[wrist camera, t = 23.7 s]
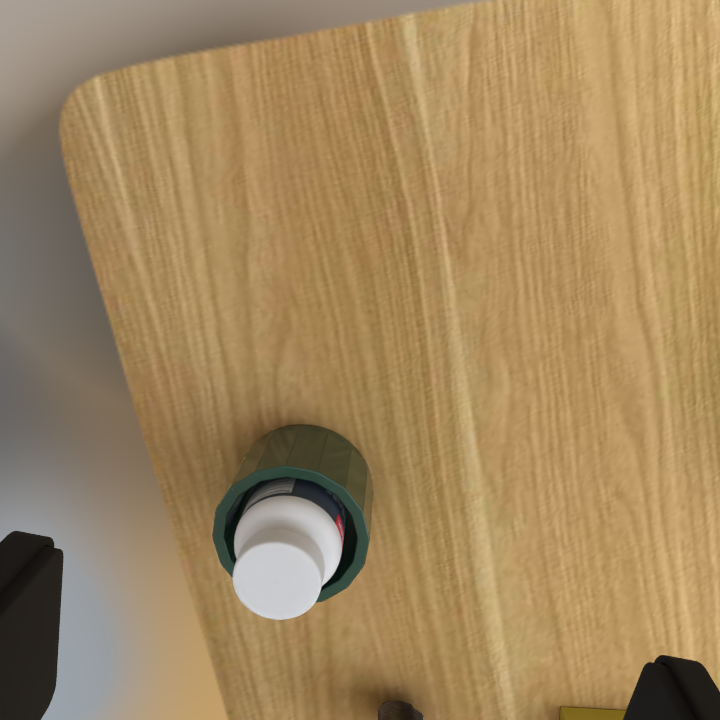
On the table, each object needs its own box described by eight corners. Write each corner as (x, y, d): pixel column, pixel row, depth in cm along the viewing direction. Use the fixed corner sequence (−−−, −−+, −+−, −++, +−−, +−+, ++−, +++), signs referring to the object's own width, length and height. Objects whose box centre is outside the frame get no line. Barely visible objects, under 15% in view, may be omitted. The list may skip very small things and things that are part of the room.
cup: (231, 533, 39) (205, 590, 34) (247, 413, 37) (222, 453, 32) (359, 557, 39) (353, 617, 34) (383, 438, 37) (381, 483, 32)
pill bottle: (366, 510, 38) (357, 610, 29) (286, 543, 39) (254, 649, 30) (324, 432, 36) (301, 512, 28) (242, 468, 37) (196, 557, 29)
